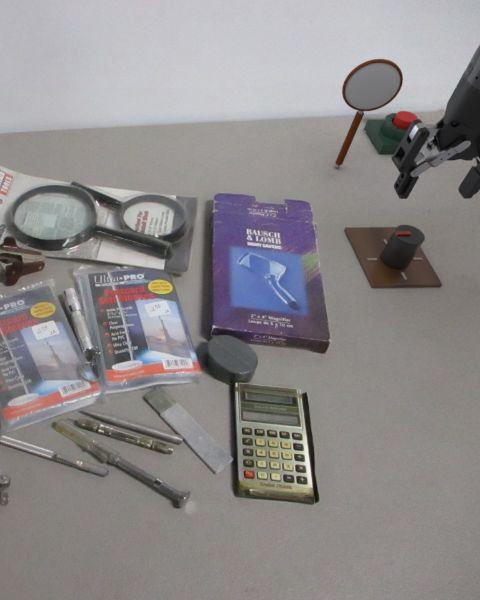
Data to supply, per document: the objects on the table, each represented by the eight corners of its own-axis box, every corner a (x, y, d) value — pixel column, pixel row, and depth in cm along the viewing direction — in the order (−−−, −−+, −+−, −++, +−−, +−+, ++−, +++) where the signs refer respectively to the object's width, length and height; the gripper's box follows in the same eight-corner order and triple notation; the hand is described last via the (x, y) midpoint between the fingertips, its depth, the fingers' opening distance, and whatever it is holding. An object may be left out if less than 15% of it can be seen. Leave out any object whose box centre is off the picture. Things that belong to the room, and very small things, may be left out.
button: (408, 119, 109) (412, 110, 108) (416, 130, 107) (421, 121, 105) (389, 119, 109) (393, 110, 108) (397, 130, 107) (401, 121, 105)
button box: (409, 129, 113) (418, 110, 110) (426, 154, 108) (437, 135, 105) (363, 129, 113) (371, 110, 110) (378, 154, 108) (387, 135, 105)
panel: (401, 238, 93) (409, 225, 91) (434, 296, 86) (443, 283, 83) (339, 239, 93) (345, 226, 91) (366, 297, 85) (373, 284, 83)
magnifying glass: (312, 168, 105) (354, 59, 90) (311, 162, 106) (353, 54, 91) (362, 173, 104) (414, 65, 89) (361, 167, 105) (411, 59, 90)
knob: (402, 249, 88) (419, 222, 84) (413, 269, 85) (431, 242, 81) (376, 249, 88) (391, 222, 84) (386, 269, 85) (402, 242, 81)
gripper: (454, 96, 62) (389, 214, 75) (584, 97, 63) (499, 213, 75) (424, 61, 67) (368, 177, 79) (545, 61, 68) (471, 176, 80)
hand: (432, 194), depth 77 cm, fingers open, 8 cm apart
